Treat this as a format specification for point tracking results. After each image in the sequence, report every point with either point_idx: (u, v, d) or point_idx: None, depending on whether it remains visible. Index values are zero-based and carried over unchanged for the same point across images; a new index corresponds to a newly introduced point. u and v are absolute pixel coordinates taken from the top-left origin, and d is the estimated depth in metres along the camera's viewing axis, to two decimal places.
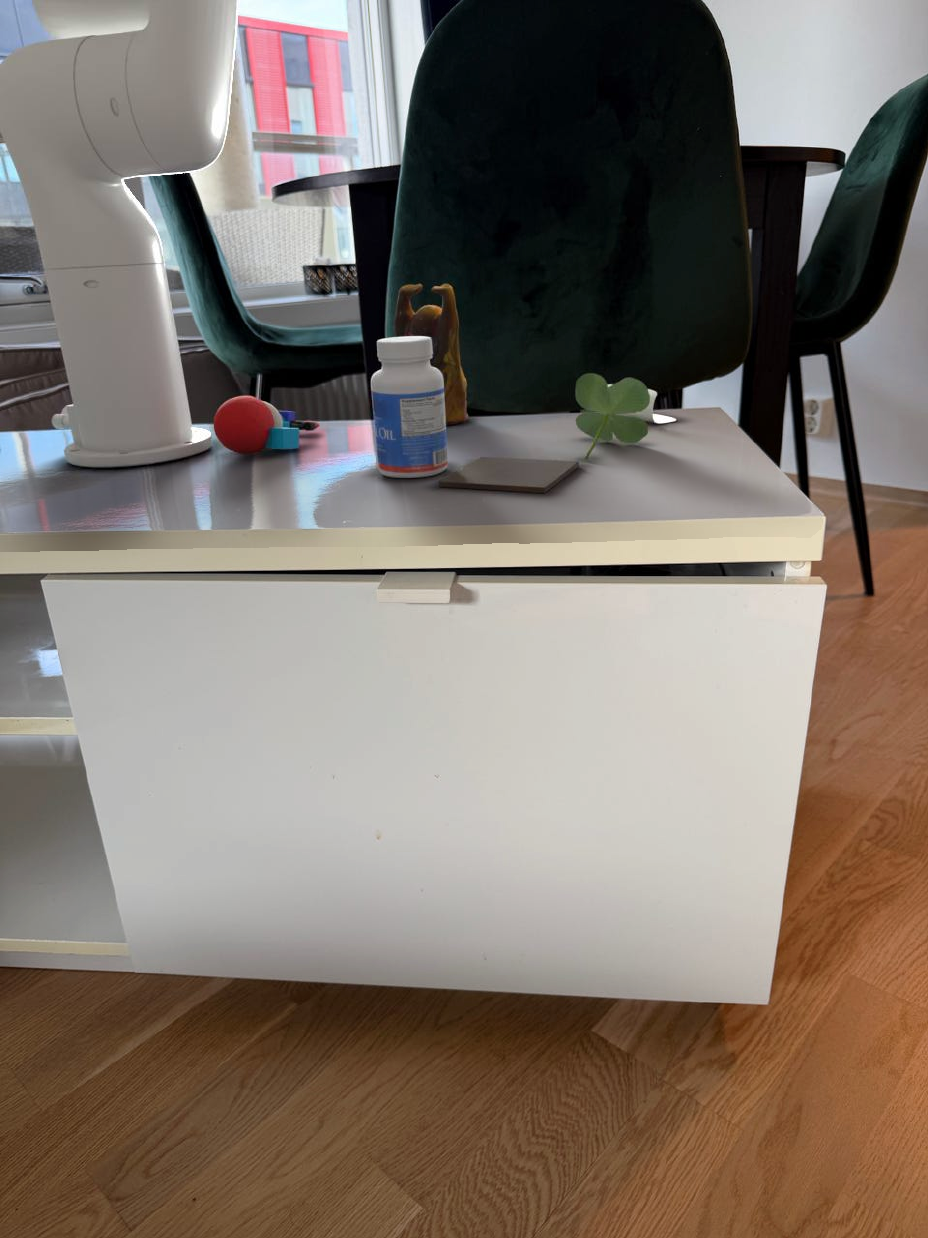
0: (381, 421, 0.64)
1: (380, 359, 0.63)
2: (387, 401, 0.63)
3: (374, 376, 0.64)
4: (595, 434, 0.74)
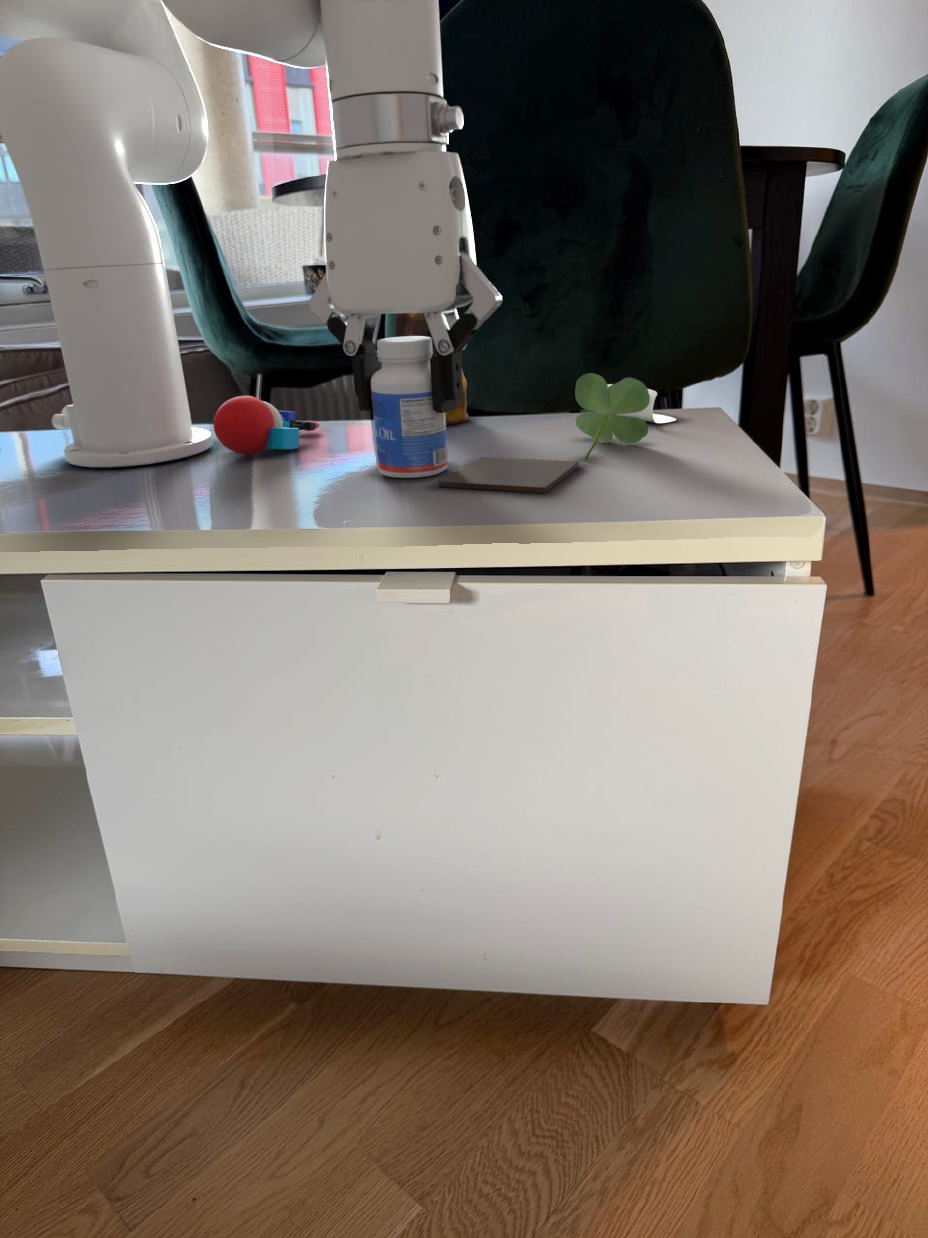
0: (381, 421, 0.64)
1: (380, 359, 0.63)
2: (387, 401, 0.63)
3: (374, 376, 0.64)
4: (595, 434, 0.74)
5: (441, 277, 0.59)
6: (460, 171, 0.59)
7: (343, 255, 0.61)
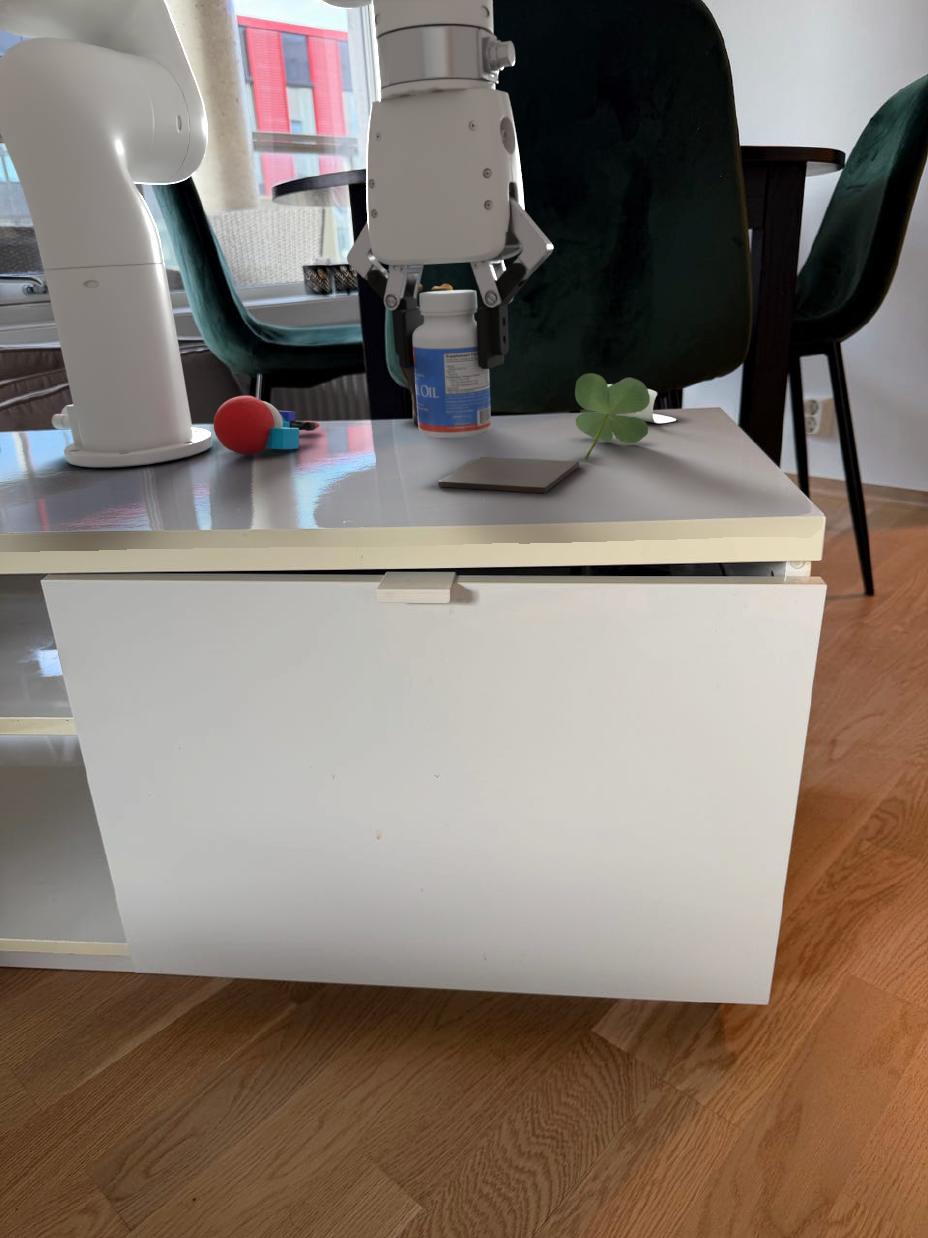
0: (424, 378, 0.62)
1: (423, 313, 0.61)
2: (430, 356, 0.61)
3: (416, 331, 0.61)
4: (595, 434, 0.74)
5: (490, 223, 0.56)
6: (510, 112, 0.56)
7: (386, 202, 0.58)
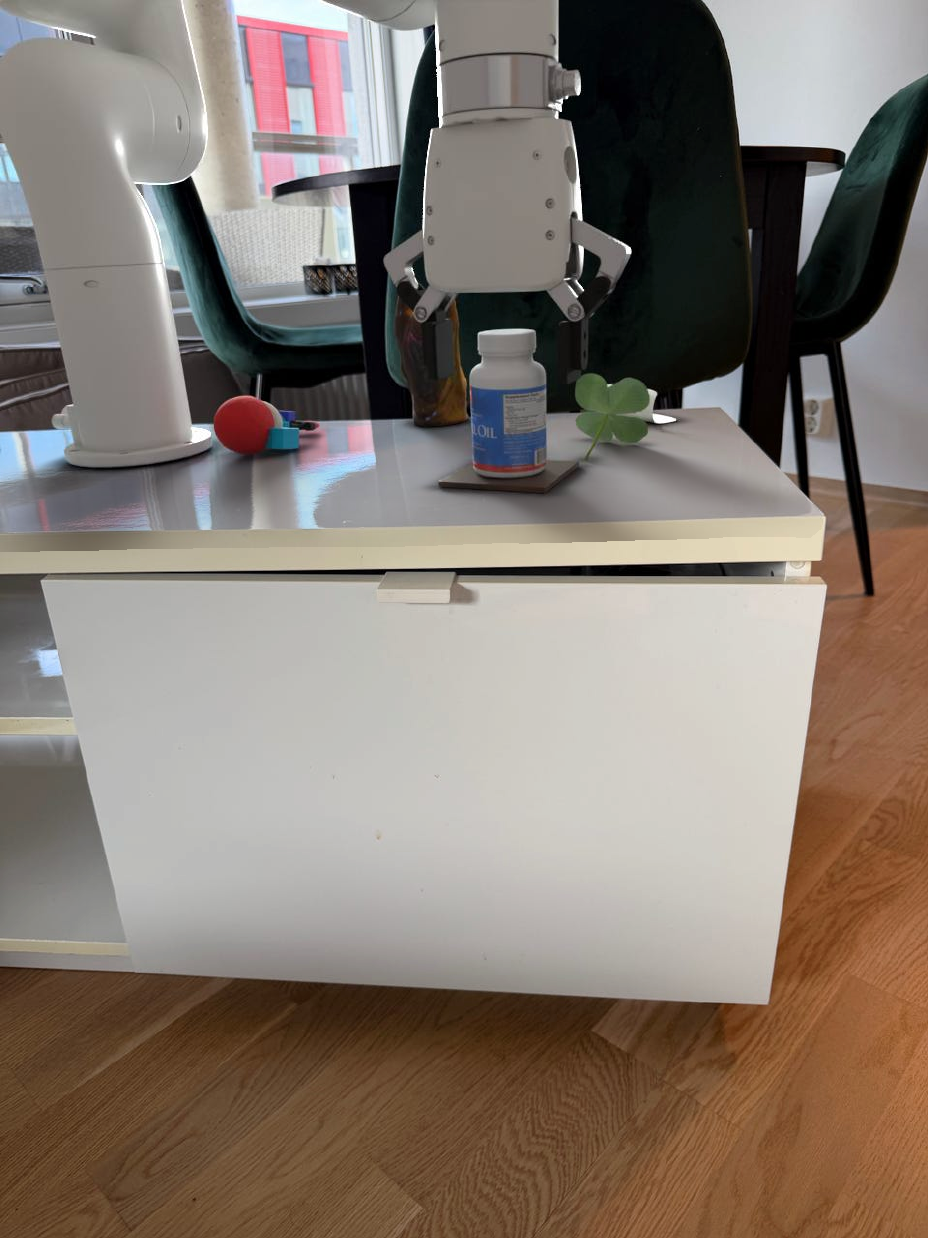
0: (481, 418, 0.61)
1: (481, 353, 0.60)
2: (489, 397, 0.60)
3: (474, 371, 0.61)
4: (595, 434, 0.74)
5: (551, 253, 0.55)
6: (573, 141, 0.55)
7: (444, 229, 0.57)
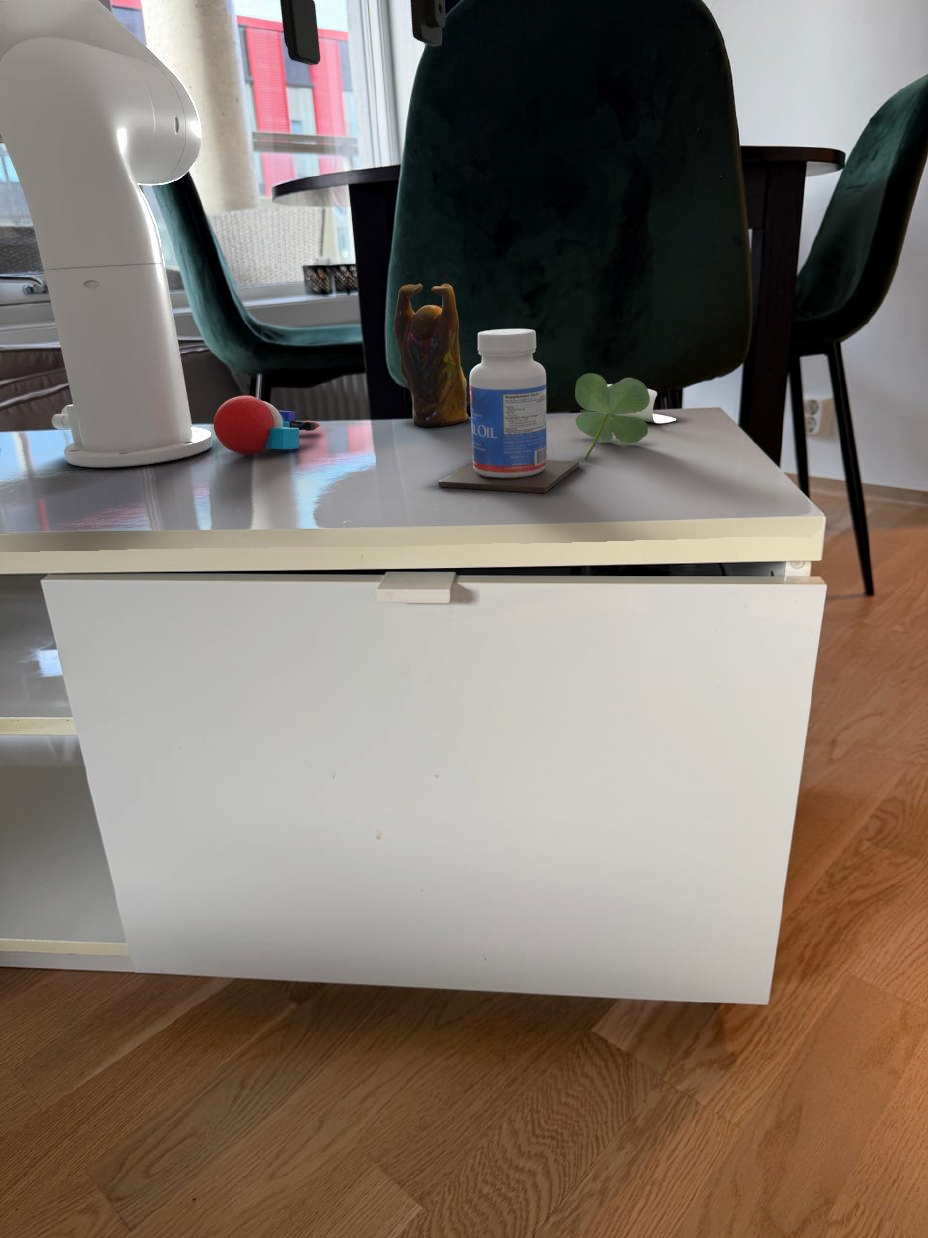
0: (481, 418, 0.61)
1: (481, 353, 0.60)
2: (489, 397, 0.60)
3: (474, 371, 0.61)
4: (595, 434, 0.74)
5: None
6: None
7: None
